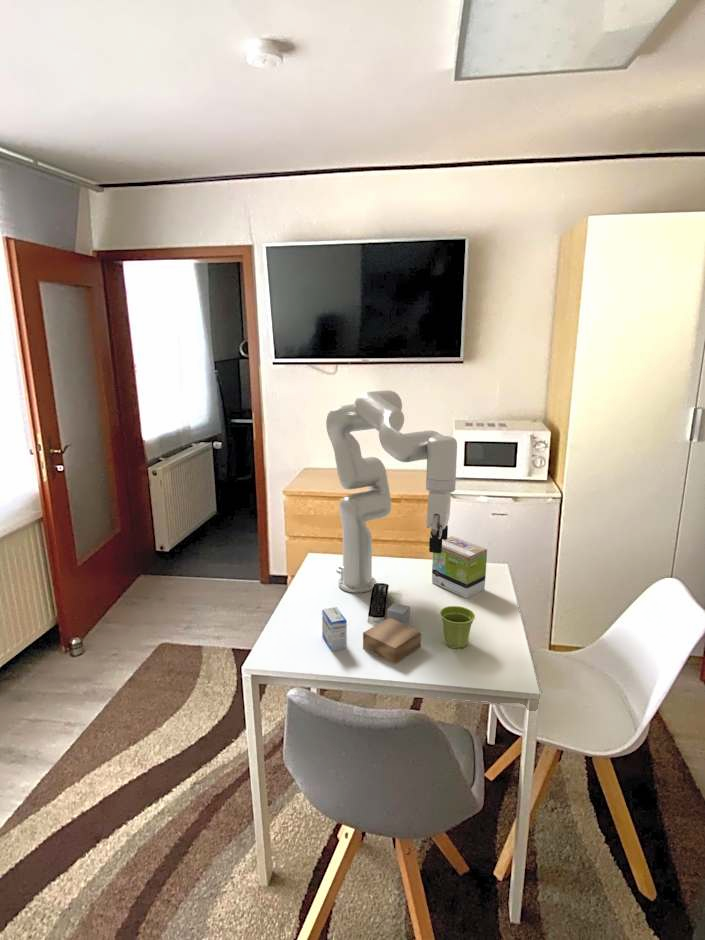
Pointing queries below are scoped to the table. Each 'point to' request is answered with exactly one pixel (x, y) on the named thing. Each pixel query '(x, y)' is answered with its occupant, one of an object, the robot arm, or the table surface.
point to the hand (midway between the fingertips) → (438, 545)
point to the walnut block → (392, 640)
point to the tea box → (460, 567)
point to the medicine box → (334, 628)
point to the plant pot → (456, 625)
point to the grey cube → (399, 613)
